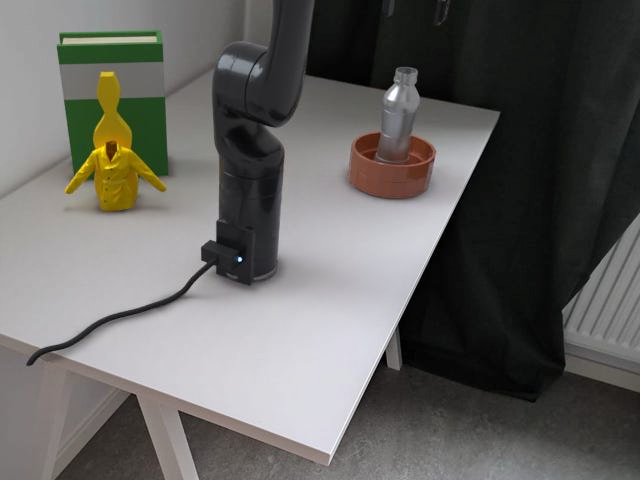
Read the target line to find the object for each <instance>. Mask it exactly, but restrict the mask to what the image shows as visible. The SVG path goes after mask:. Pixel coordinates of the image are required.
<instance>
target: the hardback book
mask: <svg viewBox="0 0 640 480" xmlns="http://www.w3.org/2000/svg"><path fill="white" fill-rule="evenodd" d="M58 37H59V43H58V44H56V52H57V59H58V67H59V75H60V81H61V82H60V83H61V88H62V89H61V90H62V97H63V105H64V110H65V111H64V112H65V118H66V126H67V133H68V134H67V135H68V141H69V148H70V156H71V163H72V170H73V177H74V176H75V175H76V174H77V172H78V171H79V170H80V168H81V167H82V166H83V165H84V164H85V162H86V161H87V159H88V158H89V156H90V155H91V153H92V151H94V150H95V145H94V141H93V136H94V132H95V128H96V127H97V125H98V123H99V122H100V120H101V119H102V117H103V116H104V114H105V113H104V110H103V108H102V106H101V104H100V102H99V100H98V97H97V87H98V83H99V79H100V75H101V72H114V73H115V75H116V77H117V80H118V82H119V85H120V89H121V92H120V98H119V103H118V106H117V112H118V114H119V115H120V116H121V118H122V119H123V120H124V121H125V122H126V124H127V125H128V126H129V127H130V129H131V132H132V143H131V150H132V151H133V152H134V153H135V154H136V155H137V156H138V157H139V158H140V159H141V160H142V161H143V162H144V163H145V164H146V165H147V166H148V167H149V168H150V170H151V171H152V172H153V173H154V174H155V175H156V176H157V177H161V176H164V177H165V176H169V157H168V153H169V152H168V134H167V133H168V132H167V131H168V130H167V110H166V109H167V108H166V89H165V88H166V87H165V84H166V83H165V63H164V43H163V36H162V30H161V29H155V30H154V29H153V30H152V29H151V30H150V29H149V30H110V31H109V30H108V31H66V32H65V31H64V32H63V31H62V32H58ZM95 171H96V169H95V170H94V171H93V172H92V174H91V175H90V176H89V177H88V178H87V179H88V180H90V179H94V177H95ZM138 177H141V176H140V175H139V174H138ZM87 179H86V180H87Z"/></svg>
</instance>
